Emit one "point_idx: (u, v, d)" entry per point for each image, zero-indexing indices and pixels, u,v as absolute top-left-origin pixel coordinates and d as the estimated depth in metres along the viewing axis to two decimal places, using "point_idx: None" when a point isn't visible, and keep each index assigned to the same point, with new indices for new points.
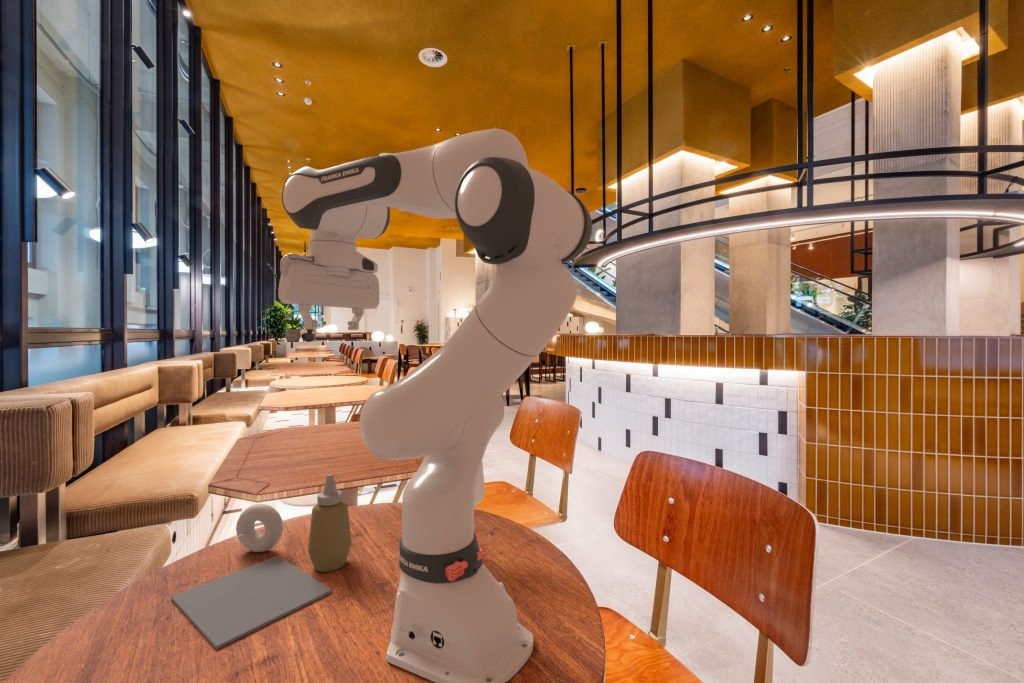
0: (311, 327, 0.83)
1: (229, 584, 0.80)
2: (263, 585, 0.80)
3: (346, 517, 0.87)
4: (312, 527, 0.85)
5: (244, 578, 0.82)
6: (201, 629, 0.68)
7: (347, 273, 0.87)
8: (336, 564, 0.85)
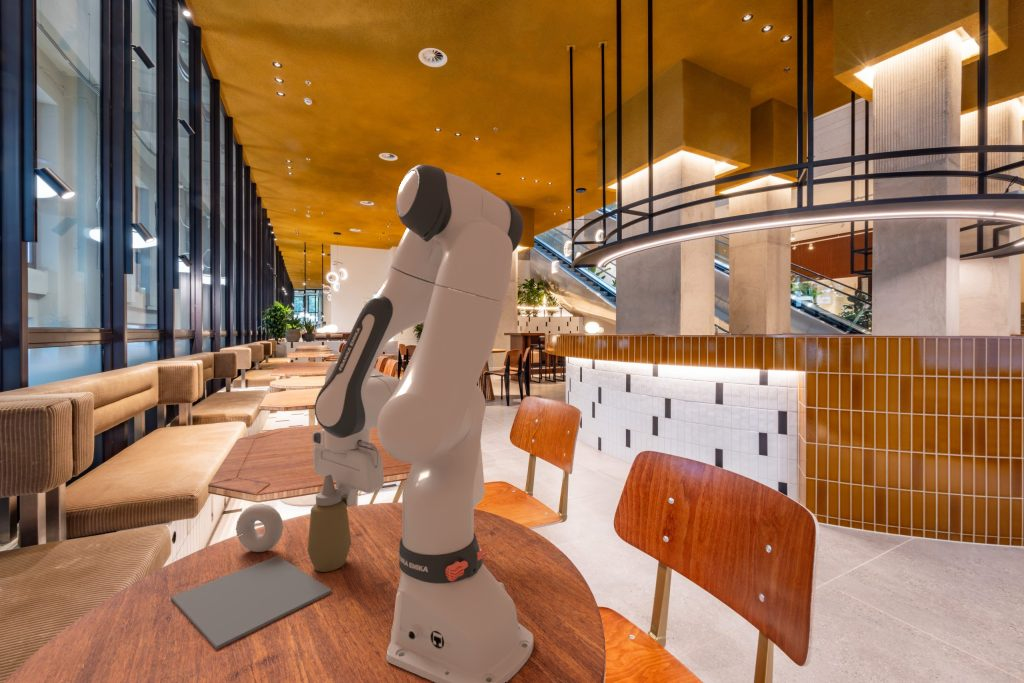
0: None
1: (229, 584, 0.80)
2: (263, 585, 0.80)
3: (345, 517, 0.87)
4: (311, 527, 0.85)
5: (244, 578, 0.82)
6: (201, 629, 0.68)
7: None
8: (335, 564, 0.85)
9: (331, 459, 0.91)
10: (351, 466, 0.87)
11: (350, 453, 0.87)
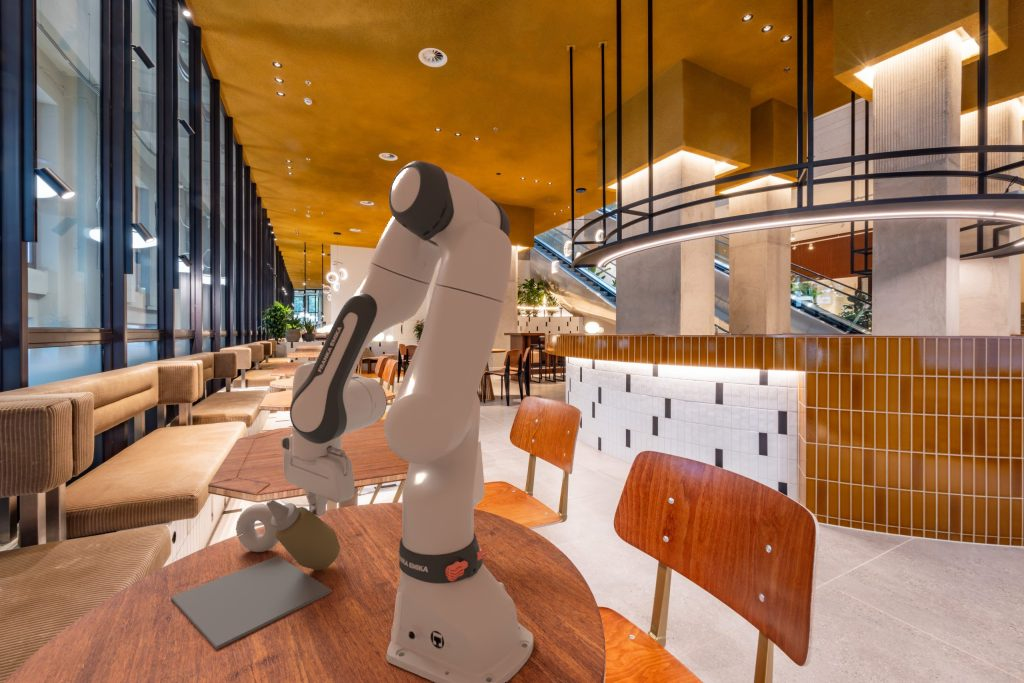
0: None
1: (229, 584, 0.80)
2: (263, 585, 0.80)
3: (313, 524, 0.82)
4: (285, 548, 0.81)
5: (244, 578, 0.82)
6: (201, 629, 0.68)
7: None
8: (329, 560, 0.84)
9: (300, 466, 0.86)
10: (320, 474, 0.82)
11: (319, 460, 0.82)
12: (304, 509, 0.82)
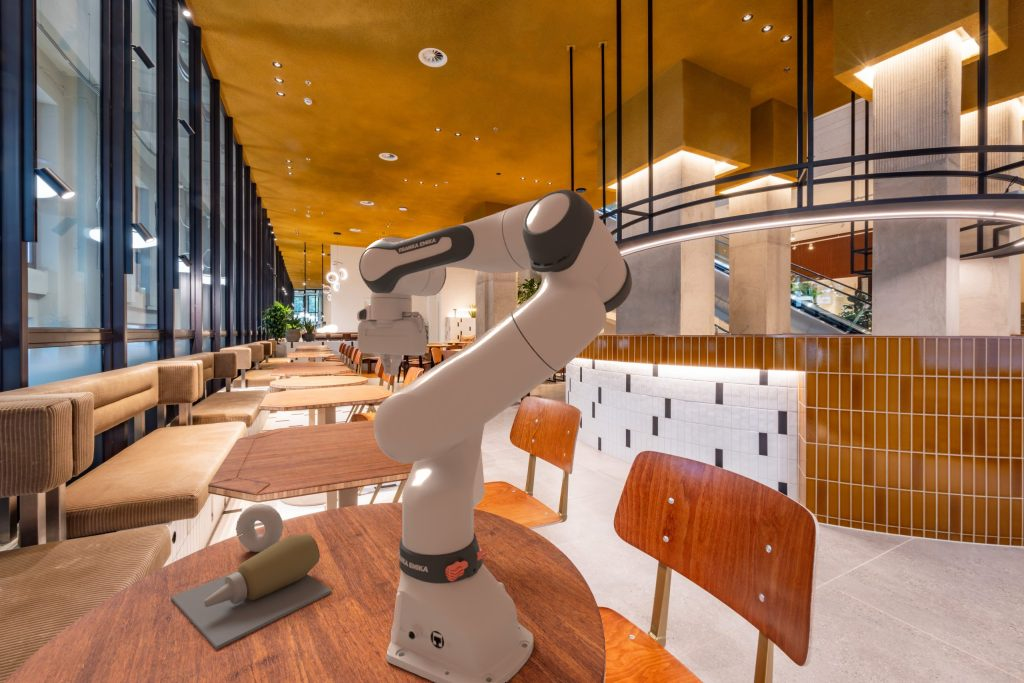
0: None
1: None
2: None
3: (267, 571, 0.75)
4: None
5: None
6: (201, 629, 0.68)
7: None
8: (314, 560, 0.82)
9: (376, 334, 0.99)
10: (396, 335, 0.94)
11: (396, 322, 0.94)
12: (246, 568, 0.74)
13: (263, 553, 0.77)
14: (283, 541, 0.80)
